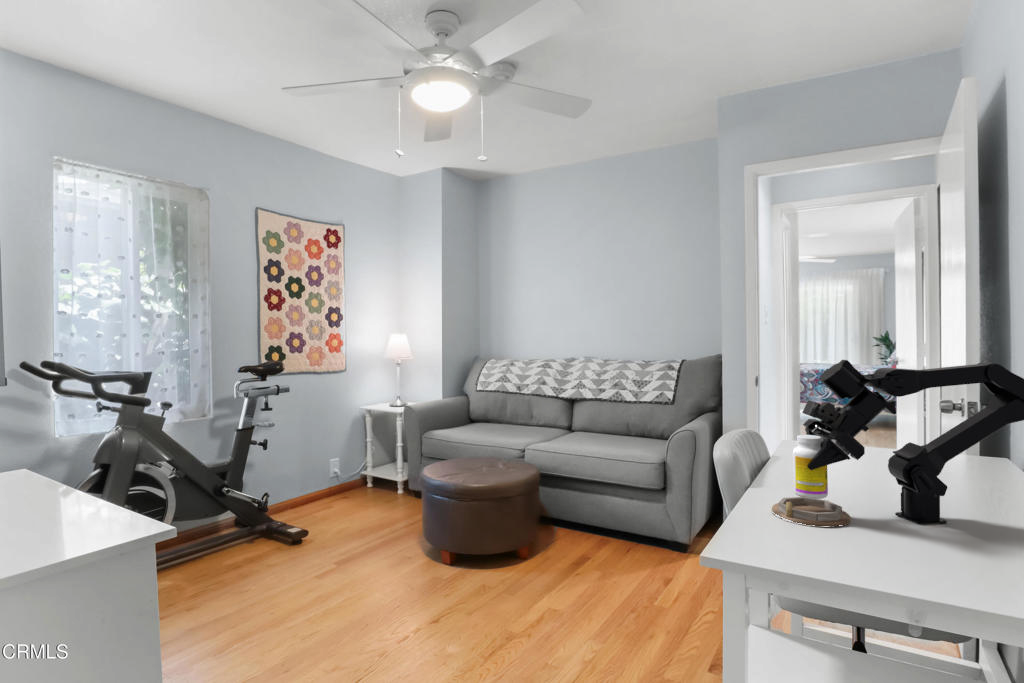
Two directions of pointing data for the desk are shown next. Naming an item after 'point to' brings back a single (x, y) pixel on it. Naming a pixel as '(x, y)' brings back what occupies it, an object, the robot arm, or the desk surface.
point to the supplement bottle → (804, 478)
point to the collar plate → (811, 511)
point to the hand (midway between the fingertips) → (803, 464)
